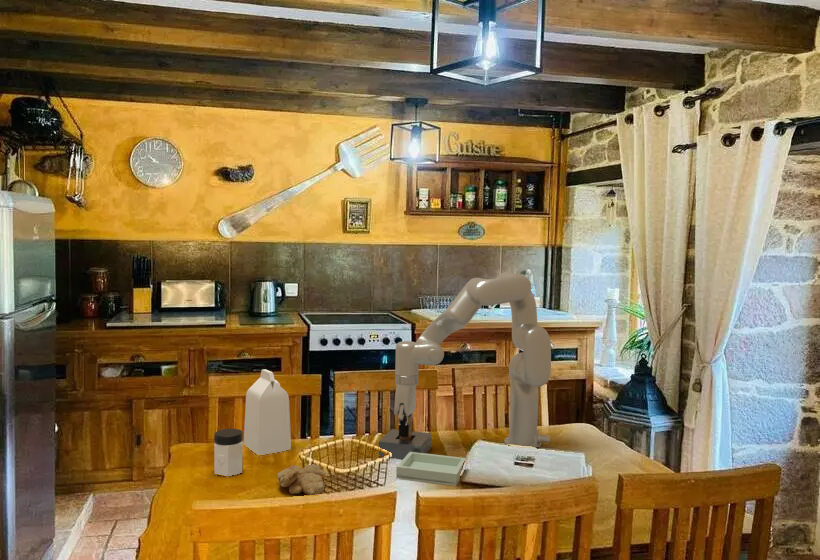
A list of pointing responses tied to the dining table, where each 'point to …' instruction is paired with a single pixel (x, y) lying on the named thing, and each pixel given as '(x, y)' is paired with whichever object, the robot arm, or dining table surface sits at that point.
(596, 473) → the dining table surface
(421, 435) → the block
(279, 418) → the milk
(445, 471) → the sage tray
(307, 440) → the dining table surface
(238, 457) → the jar
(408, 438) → the walnut peg
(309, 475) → the ginger root
